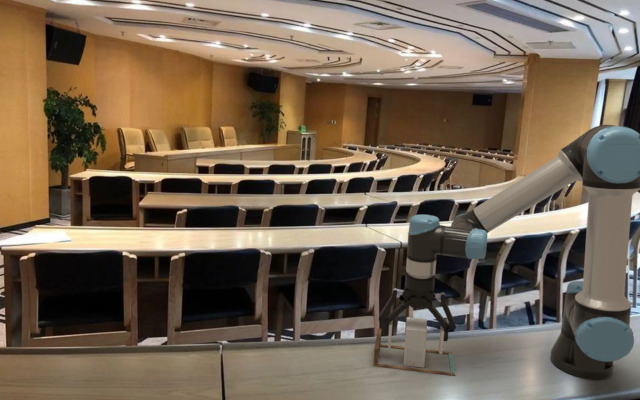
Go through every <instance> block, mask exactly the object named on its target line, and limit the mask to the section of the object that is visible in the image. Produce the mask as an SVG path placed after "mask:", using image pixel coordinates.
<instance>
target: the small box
mask: <svg viewBox="0 0 640 400" xmlns="http://www.w3.org/2000/svg"><path fill="white" fill-rule="evenodd" d="M405 321H406V322H405V331H404V332H405V334H404V335H405V336H404V346H403V347H404V349H403V366H404V367H413V368H421V369H424V368H425V364H426V353H427V352H426V349H427V339H428V338H427V336H428V319H426V318H419V317H410V316H406V320H405Z"/></svg>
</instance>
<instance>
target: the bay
mask: <svg viewBox="0 0 640 400" xmlns="http://www.w3.org/2000/svg"><path fill="white" fill-rule="evenodd" d="M381 340H382V328H377V332H376V338H375V342H374V343H375V344H374V353H373V367H379V368H385V369H394V370H402V371H410V372H420V373H425V374H426V373H427V374H433V375H434V374H435V375H442V376H443V375H444V376H449V377H451V376H452V377H456V369H455V362H454V355H453V352H452V351H442V354H441V355H446V356H447V355H448V357H449V358H448V359H449V360H448V361H449V368H450V371H441V370H435V369H434V370H433V369H424V368H419V367H411V366H400V365H393V364H385V363H379V358H380V352H381V351H380V350H381V348H388V344H382V343H381ZM390 349H396V350H404V346H400V345H392V344H391V348H390ZM426 353H431V354H439V350H435V349H427V348H426ZM439 355H440V354H439Z"/></svg>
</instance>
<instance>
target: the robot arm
mask: <svg viewBox="0 0 640 400" xmlns="http://www.w3.org/2000/svg"><path fill="white" fill-rule="evenodd" d="M575 181H576V182H582V184H581V186H582V187H583V188H584V189H585V190H586V191H587V192H588V203H587V204H588V205H587V206H588V207H587V222H586V234H585V236H586V237H585V246H584V247H585V248H584V249H585V251H584V264H583V279H582V280H575V281H570V282H569V283H567V287H566V290H565V292H564V293H565V298H564V306H563V313H562V314H563V315H562V320H561V321H562V322H561V327H560V328H561V329H560V334H559V335H558V337H557V338H556V341H555V342H554V344H553V346H552V347H551V351H550V356H549V357H550V358H549V359H550V361H551V363H552V364H553V365H554V366H555V367H556V368H558V369H559V370H561V371H563V372H565V373H566V374H569V375H572V376H574V377H578V378H582V379H588V380H606V379H608V378H611V376H612V375H613V372H614V367H615V366H614V365H615V364H614V362H615V361H619V360H621V359H622V358H624V357H626V356H628V355H629V354H630V353H631V351H632V349H633V348H634V344H635V337H634V332H633V330H632V328H631V326H630V324H631V323H630V322H631V310H632V303H631V301H630V300H629V299H628V298H627V297H626V296H625V292H626V291H625V289H626V278H627V277H626V276H627V267H628V266H627V263H628V251H629V244H630V243H629V242H630V241H629V240H630V230H631V229H630V228H631V215H632V207H633V206H632V205H633V196H634V194H636V193H638V191H640V133H639V132H638V131H636V130H634V129H632V128H630V127H627V126H622V125H621V126H620V125H619V126H618V125H614V124H600V125H597V126H594V127H592V128H590V129H588V130H587V131H585V132H584V133H582V134H581V135H580V136H578V137H577V138H575V139H574V140H573V141H571V142H570V143H569V144H567V145H565V147H563V148H561V149H559V151H558V155H557V156H556V157H554V158H552V159H551V160H549V161H547V162H546V163H545V164H543V165H542V166H539V167H538V168H537V169H535V170H534V171H531V172H530V173H529V174H527V175H525V176H524V177H522V178H520V179H519V180H517V181H516V182H514V183H513V184H511V185H509V186H508V187H506V188H505V189H503V190H502V191H500V192H498V193H497V194H495V195H493V196H492V197H490V198H488V199H487V200H485V201H484V202H482V203H481V204H479V205H477V206H476V207H474V208H473V209H471V210H470V211H468V212H466V213H462V214H459V215H457V216H456V217H455V218H454V219H453V221H451V224H450V226H448V225H443V224H441V222H440V219H439V217H438V216H435V215H431V214H415V215H413V216H411V218H410V219H409V224H408V225H409V226H408V227H409V228H408V232H407V252H406V253H407V254H406V264H405V266H406V267H405V271H406V273H405V279H404V280H405V281H404V288H403V289H399V288H397V287H393V288H392V293H391V296H390V297H389V299H388V301H387V302H386V304H385V305H384V307H383V308H382V310H381V311H380V312H379V315H378V322H381V323H383V324H384V335H385V336H387V337H388V339H387V341H388V342H387V345H388V348H389V349H392V348H391V345H392V334H393V321H394V320H395V319H397V317H399V315H401V313H403V312H404V311H405V310H407V309H408V308H409V307H411V308H412V309H419V310H424V309H427V310H428V311H429V312H430V313H431V314H432V316H433V317H434V319H435V320H436V321H437V322H438V324H439V325H440V331H439V332H440V333H439V344H438V351H439V355H443V354H442V351H443V350H444V349H443V348H444V342H448V341H449V332H450V330H456V329H457V324H456V321H455V318H454V317H453V314H452V312H451V310H450V308H449V305H448V302H447V301H446V300H447V299H446V298H447V297H446V292H445V291H441V292H440V293H439V292H438V293H435V291H434V290H435V282H436V281H435V280H436V279H435V278H436V277H435V274H436V270H437V269H436V265H437V255H439V256H447V257H454V258H455V257H456V258H462V259H468V260H482V259H483V260H484V259H485V257H486V253H487V246H488V245H487V244H488V233H490V232H492V231H493V230H495V229H497V228H499V227H500V226H501V225H503V224H505V223H506V222H508V221H510V220H512V219H513V218H515V217H517V216H519V215H520V214H522V213H523V212H526V211H527V210H528V209H530V208H532V207H533V206H535V205H537V204H538V203H541V202H543V201H544V200H545V199H547V198H548V197H550V196H552V195H554V194H555V193H557V192H559V191H561V190H562V189H564V188H566V187H567V186H569V185H571V184H572V183H574V182H575ZM401 296H402V297H403V298H404V300H403V301H402V302H401V303H400V304H398V305H397V307H395V308H394V309H393V310H392V311H391V312H390V310H391V308H393V305H394V303H395V302H396V300H397V299H399V298H400V297H401ZM435 299H436V300H437V301H438V302H439V303H440V304H441V307H442V309H443V311H444V314H445V317H446V319H447V320H448V322H447V320H446V319H445V318H444V316H443V315H442V314H441V312H440V311H439V310H438V309H437V308H436V306H435V305H434V303H433V301H434V300H435ZM389 312H390V313H389Z"/></svg>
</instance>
